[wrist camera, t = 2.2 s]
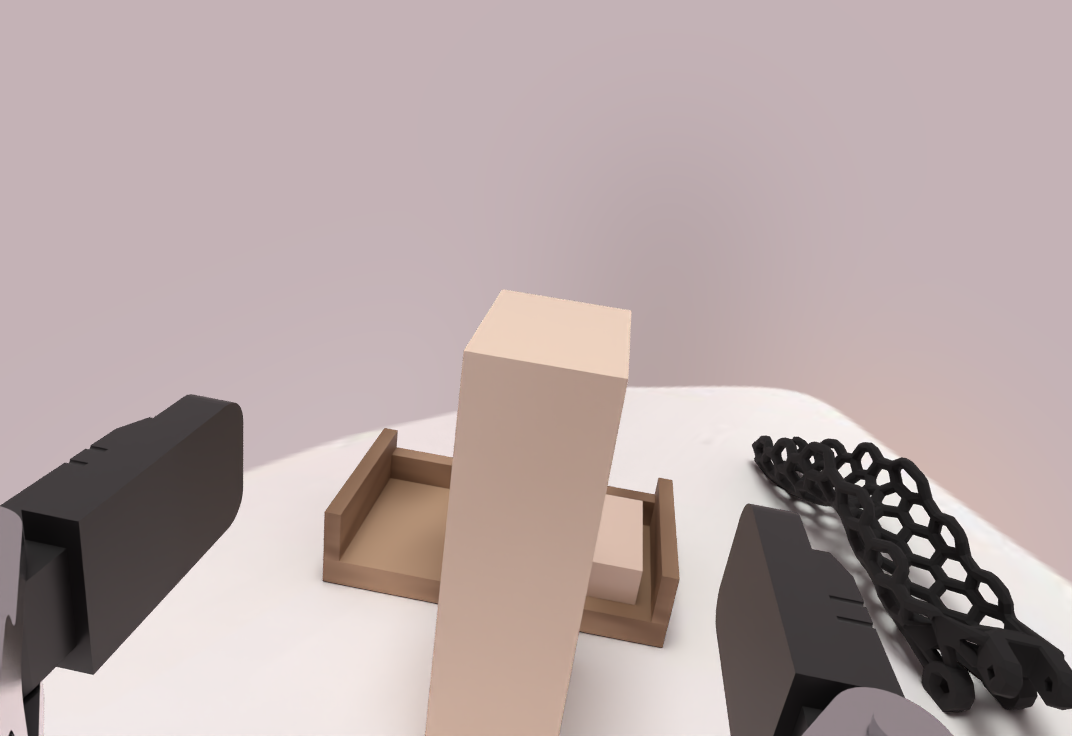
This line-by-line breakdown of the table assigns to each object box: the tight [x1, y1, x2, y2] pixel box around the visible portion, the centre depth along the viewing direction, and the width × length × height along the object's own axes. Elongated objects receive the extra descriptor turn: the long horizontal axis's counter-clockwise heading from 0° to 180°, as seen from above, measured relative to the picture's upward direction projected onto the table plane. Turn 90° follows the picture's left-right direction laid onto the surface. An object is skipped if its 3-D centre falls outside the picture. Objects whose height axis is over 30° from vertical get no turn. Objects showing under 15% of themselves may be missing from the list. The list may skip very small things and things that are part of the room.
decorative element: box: [752, 436, 1072, 712], centre depth 38 cm, size 22×5×6 cm, turn 10°
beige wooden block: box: [425, 290, 631, 736], centre depth 25 cm, size 4×6×15 cm
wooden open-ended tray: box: [323, 428, 679, 647], centre depth 36 cm, size 15×8×4 cm, turn 82°
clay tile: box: [586, 494, 643, 605], centre depth 35 cm, size 4×6×2 cm
